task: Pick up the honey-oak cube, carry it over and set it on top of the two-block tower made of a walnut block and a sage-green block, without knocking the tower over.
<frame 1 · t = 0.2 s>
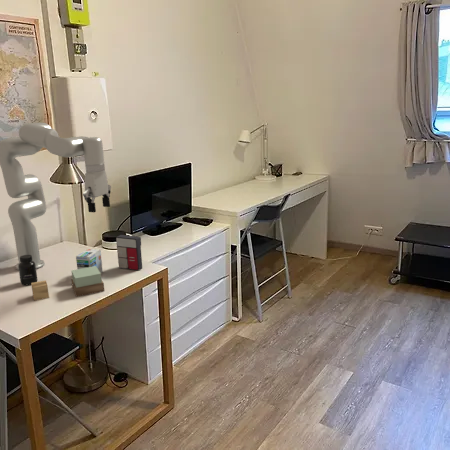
hand: (99, 209, 191), 31 cm above the table, tool pointing down, fingers open, 9 cm apart
walnut block: (88, 290, 189), on the table, touching sage block
sage block: (87, 281, 188), point 3 cm above the table, touching walnut block
oak cube: (41, 296, 183), on the table
light bulb box: (91, 275, 204), on the table
grey red box: (130, 268, 211), on the table
supplement bottle: (29, 283, 197), on the table
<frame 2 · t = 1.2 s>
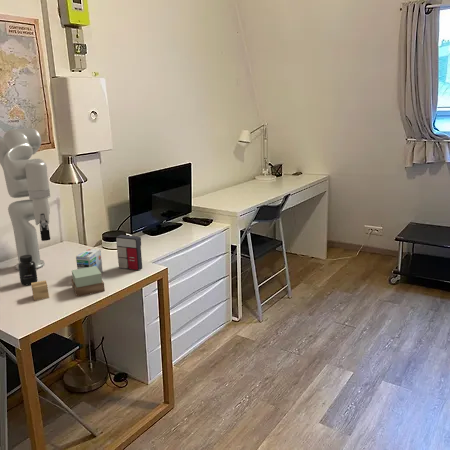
hand: (45, 237, 179), 24 cm above the table, tool pointing down, fingers open, 9 cm apart
walnut block: (88, 290, 189), on the table
sage block: (87, 281, 188), point 4 cm above the table
everything else where it was.
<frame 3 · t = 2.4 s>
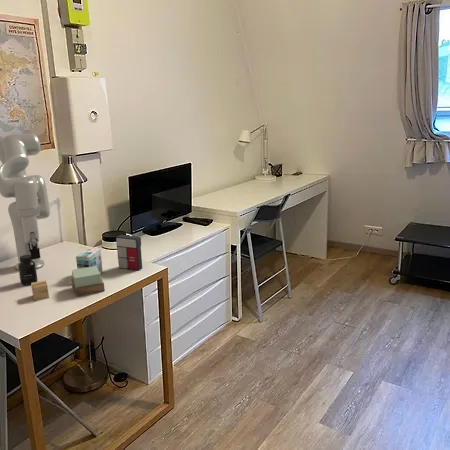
hand: (34, 255, 178), 18 cm above the table, tool pointing down, fingers open, 9 cm apart
nothing on the table moved.
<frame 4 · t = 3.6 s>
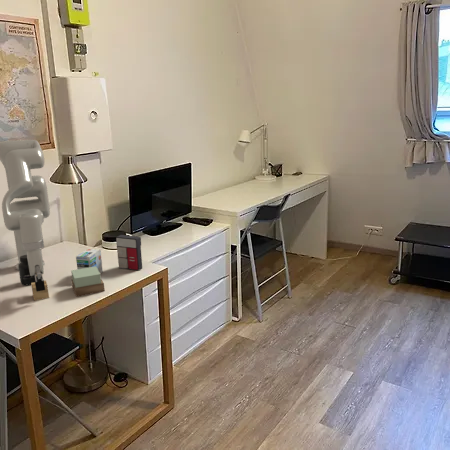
hand: (39, 286, 181), 4 cm above the table, tool pointing down, fingers open, 9 cm apart
walnut block: (88, 290, 189), on the table, touching sage block
sage block: (86, 281, 188), point 4 cm above the table, touching walnut block
everything else where it was.
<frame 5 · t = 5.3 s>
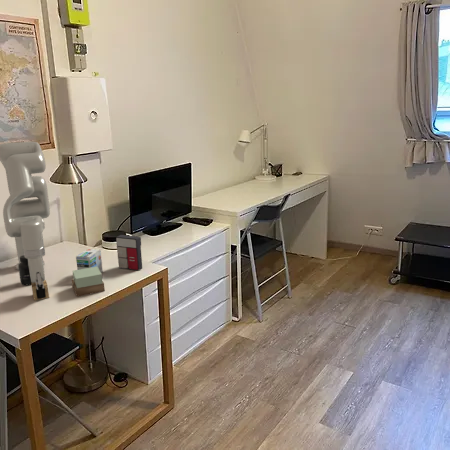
hand: (40, 294, 183), 1 cm above the table, tool pointing down, fingers closed on oak cube, 5 cm apart
walnut block: (88, 290, 189), on the table
sage block: (87, 281, 187), point 3 cm above the table
oak cube: (41, 296, 183), on the table, touching gripper
everything else where it was.
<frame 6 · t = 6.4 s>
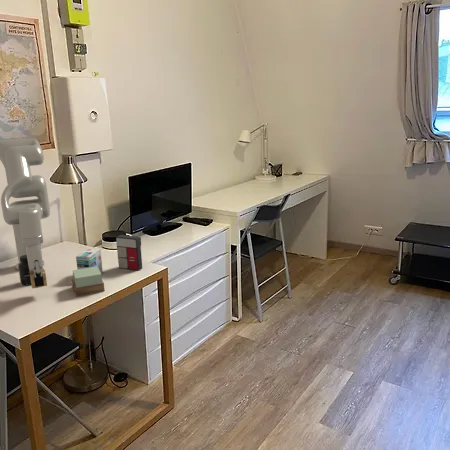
hand: (38, 282, 182), 6 cm above the table, tool pointing down, fingers closed on oak cube, 5 cm apart
walnut block: (88, 290, 189), on the table, touching sage block
sage block: (87, 281, 188), point 4 cm above the table, touching walnut block
oak cube: (39, 284, 182), point 5 cm above the table, touching gripper
everything else where it was.
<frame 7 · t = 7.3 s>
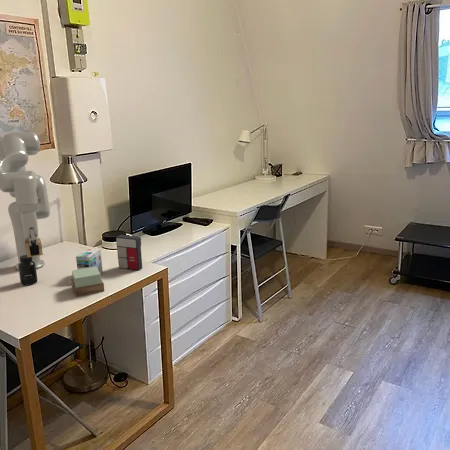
hand: (34, 252, 178), 19 cm above the table, tool pointing down, fingers closed on oak cube, 5 cm apart
walnut block: (88, 290, 189), on the table
sage block: (87, 281, 188), point 4 cm above the table
oak cube: (34, 254, 179), point 18 cm above the table, touching gripper
everything else where it was.
when the fingers open (10 cm above the table, at t = 12.8 s): oak cube drops 2 cm, resting on sage block.
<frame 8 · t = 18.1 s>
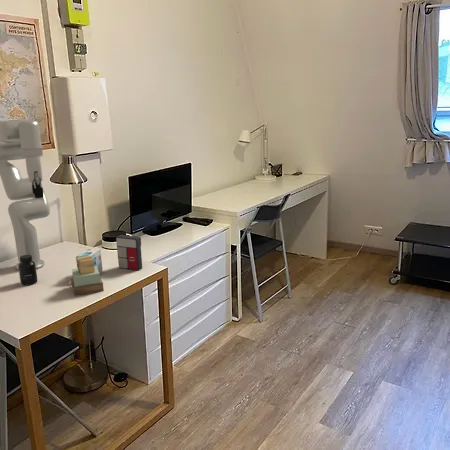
hand: (38, 195, 185), 38 cm above the table, tool pointing down, fingers open, 9 cm apart
walnut block: (87, 289, 189), on the table, touching sage block
sage block: (86, 280, 188), point 4 cm above the table, touching oak cube, walnut block
oak cube: (86, 271, 187), point 8 cm above the table, touching sage block
everything else where it was.
at the end: oak cube 0.5 cm off-centre on the sage block, point 4.0 cm above the sage block's base; sage block 0.1 cm off-centre on the walnut block, point 4.0 cm above the walnut block's base; oak cube tilted 0° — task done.
